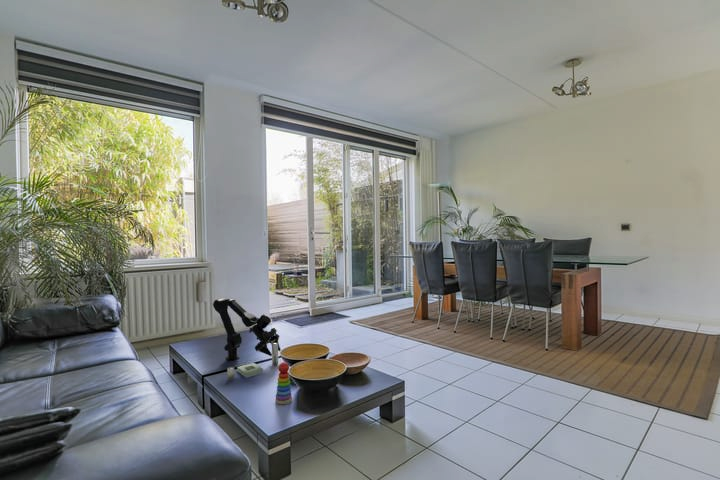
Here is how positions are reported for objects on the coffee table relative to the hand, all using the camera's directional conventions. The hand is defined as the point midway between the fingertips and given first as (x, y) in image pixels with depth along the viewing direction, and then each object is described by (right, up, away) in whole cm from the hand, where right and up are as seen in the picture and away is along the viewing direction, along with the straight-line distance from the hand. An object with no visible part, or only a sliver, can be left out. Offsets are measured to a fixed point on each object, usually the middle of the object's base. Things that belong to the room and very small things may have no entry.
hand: (275, 353), depth 221 cm
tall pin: (-1, -7, +1) cm, 7 cm away
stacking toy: (+14, -9, -45) cm, 48 cm away
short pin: (-20, -8, -19) cm, 29 cm away
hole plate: (-13, -8, -10) cm, 18 cm away
